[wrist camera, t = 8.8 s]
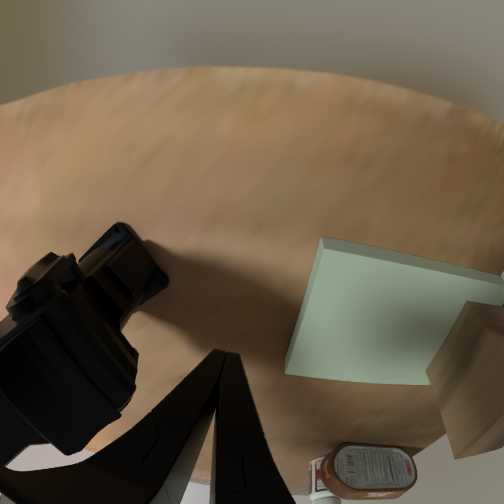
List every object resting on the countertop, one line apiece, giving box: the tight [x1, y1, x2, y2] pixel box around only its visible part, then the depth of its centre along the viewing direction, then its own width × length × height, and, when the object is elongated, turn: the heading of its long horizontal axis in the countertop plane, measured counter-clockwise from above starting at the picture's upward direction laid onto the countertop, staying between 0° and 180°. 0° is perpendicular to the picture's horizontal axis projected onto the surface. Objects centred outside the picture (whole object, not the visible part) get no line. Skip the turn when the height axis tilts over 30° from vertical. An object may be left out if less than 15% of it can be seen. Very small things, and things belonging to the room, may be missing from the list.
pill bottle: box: [309, 456, 341, 504], centre depth 32 cm, size 5×5×8 cm
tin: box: [320, 443, 417, 500], centre depth 30 cm, size 15×3×8 cm, turn 71°
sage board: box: [285, 236, 504, 385], centre depth 23 cm, size 18×12×2 cm, turn 81°
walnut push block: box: [425, 301, 504, 459], centre depth 17 cm, size 6×8×10 cm
